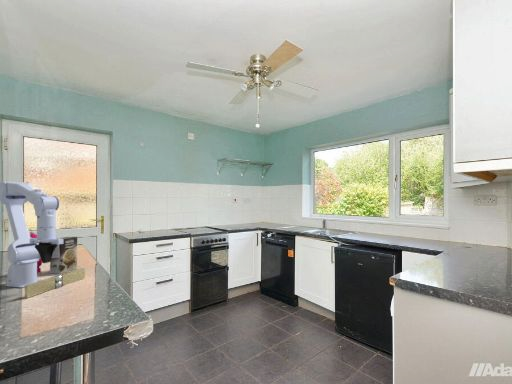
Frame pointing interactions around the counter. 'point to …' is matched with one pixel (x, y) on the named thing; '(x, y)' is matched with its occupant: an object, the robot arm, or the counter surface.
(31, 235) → the pepper mill
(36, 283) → the swing leaf
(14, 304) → the counter surface
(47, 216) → the robot arm
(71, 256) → the coffee box
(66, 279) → the hinge base
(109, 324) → the counter surface
